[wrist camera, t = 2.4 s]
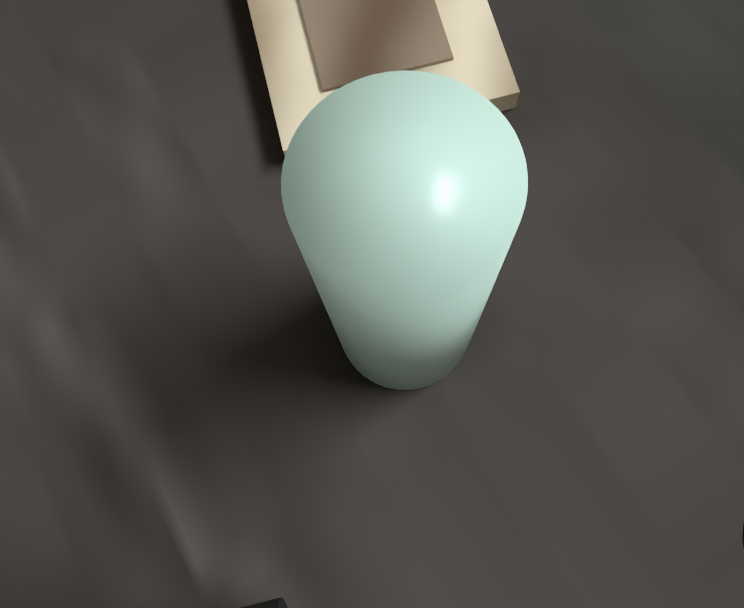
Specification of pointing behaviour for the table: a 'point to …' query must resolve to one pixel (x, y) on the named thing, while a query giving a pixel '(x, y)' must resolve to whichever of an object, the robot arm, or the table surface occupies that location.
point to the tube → (404, 217)
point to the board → (374, 48)
